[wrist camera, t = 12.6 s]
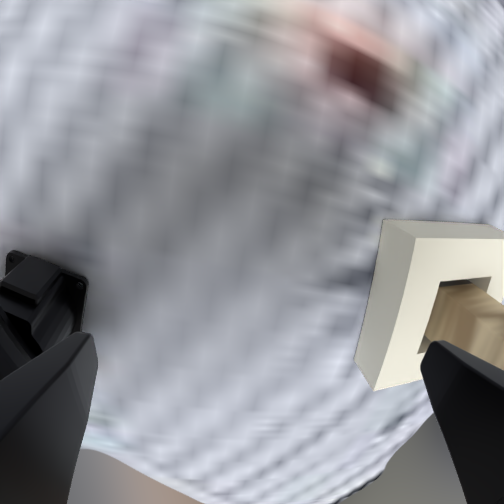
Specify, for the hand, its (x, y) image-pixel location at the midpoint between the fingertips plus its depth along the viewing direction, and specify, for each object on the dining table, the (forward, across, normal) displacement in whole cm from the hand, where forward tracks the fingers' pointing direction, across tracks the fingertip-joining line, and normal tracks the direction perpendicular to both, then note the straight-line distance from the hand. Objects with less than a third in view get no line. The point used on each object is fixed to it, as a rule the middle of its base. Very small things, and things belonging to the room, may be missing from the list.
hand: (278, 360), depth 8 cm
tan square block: (+14, -16, +5) cm, 22 cm away
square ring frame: (+14, -16, +5) cm, 22 cm away
